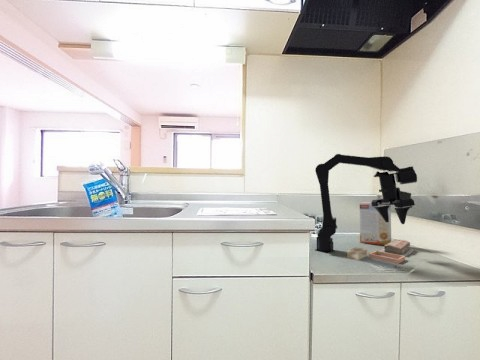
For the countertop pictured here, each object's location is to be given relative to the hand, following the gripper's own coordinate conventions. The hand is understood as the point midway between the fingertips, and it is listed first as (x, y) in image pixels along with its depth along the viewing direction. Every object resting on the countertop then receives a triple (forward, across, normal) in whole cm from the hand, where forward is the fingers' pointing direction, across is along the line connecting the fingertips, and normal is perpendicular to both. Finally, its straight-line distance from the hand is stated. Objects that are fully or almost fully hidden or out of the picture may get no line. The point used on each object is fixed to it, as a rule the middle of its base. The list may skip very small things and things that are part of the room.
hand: (394, 223), depth 111 cm
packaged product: (+15, +8, -4) cm, 18 cm away
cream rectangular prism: (+11, +2, +18) cm, 21 cm away
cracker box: (+14, +24, -6) cm, 29 cm away
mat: (+13, -1, +13) cm, 18 cm away
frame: (+14, -2, +8) cm, 16 cm away
